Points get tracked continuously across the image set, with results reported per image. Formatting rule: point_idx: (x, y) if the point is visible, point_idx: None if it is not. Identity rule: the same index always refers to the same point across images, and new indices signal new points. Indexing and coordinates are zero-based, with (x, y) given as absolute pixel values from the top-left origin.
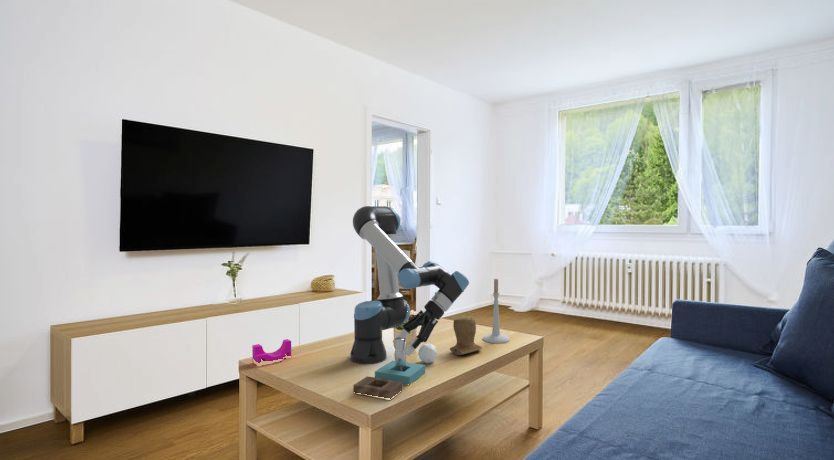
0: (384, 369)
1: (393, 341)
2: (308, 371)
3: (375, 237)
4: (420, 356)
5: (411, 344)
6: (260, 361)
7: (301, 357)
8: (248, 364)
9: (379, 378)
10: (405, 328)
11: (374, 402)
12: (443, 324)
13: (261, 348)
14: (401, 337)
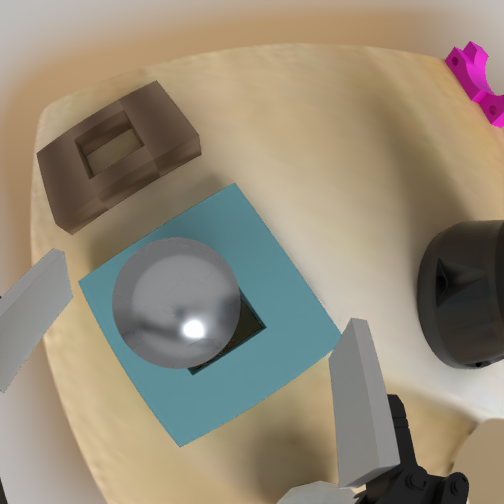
0: (234, 233)
1: (352, 322)
2: (402, 93)
3: None
4: (314, 486)
5: (6, 299)
6: (452, 58)
7: (494, 140)
8: None
9: (143, 163)
10: (390, 483)
11: None
12: None
13: (474, 51)
14: (223, 346)
